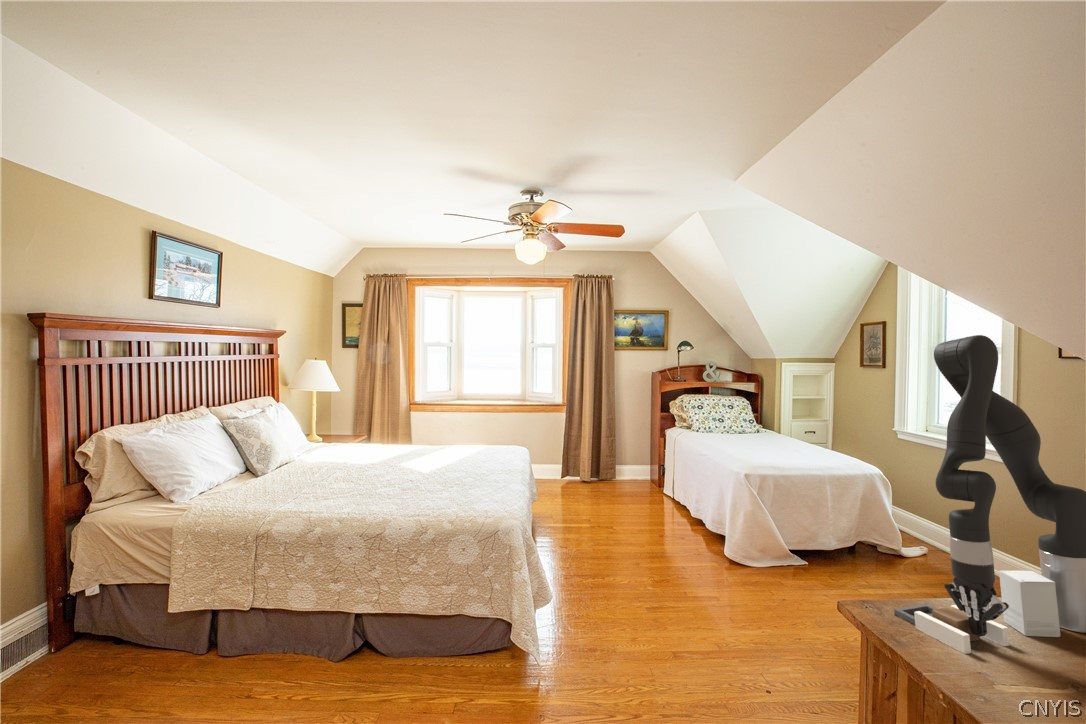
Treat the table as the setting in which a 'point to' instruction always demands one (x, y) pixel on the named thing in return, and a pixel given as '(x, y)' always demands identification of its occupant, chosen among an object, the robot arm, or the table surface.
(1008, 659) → the table surface
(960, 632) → the white guide rails
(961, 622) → the walnut block
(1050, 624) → the supplement box
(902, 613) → the frame
